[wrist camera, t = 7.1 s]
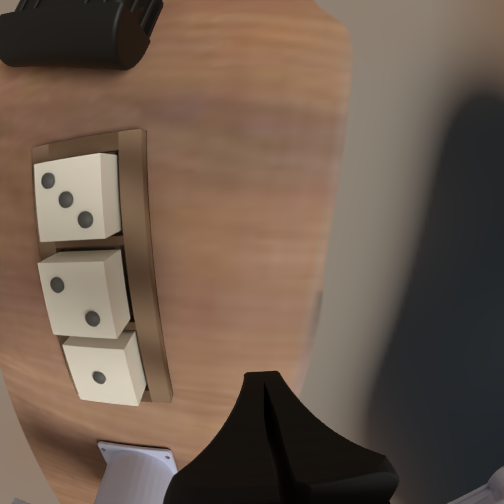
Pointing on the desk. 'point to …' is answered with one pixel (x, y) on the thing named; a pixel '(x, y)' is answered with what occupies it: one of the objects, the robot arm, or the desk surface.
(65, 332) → the tile two
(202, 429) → the desk surface
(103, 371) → the tile one
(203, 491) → the robot arm
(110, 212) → the tile three
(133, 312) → the tile tray
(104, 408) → the desk surface
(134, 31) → the end cap
